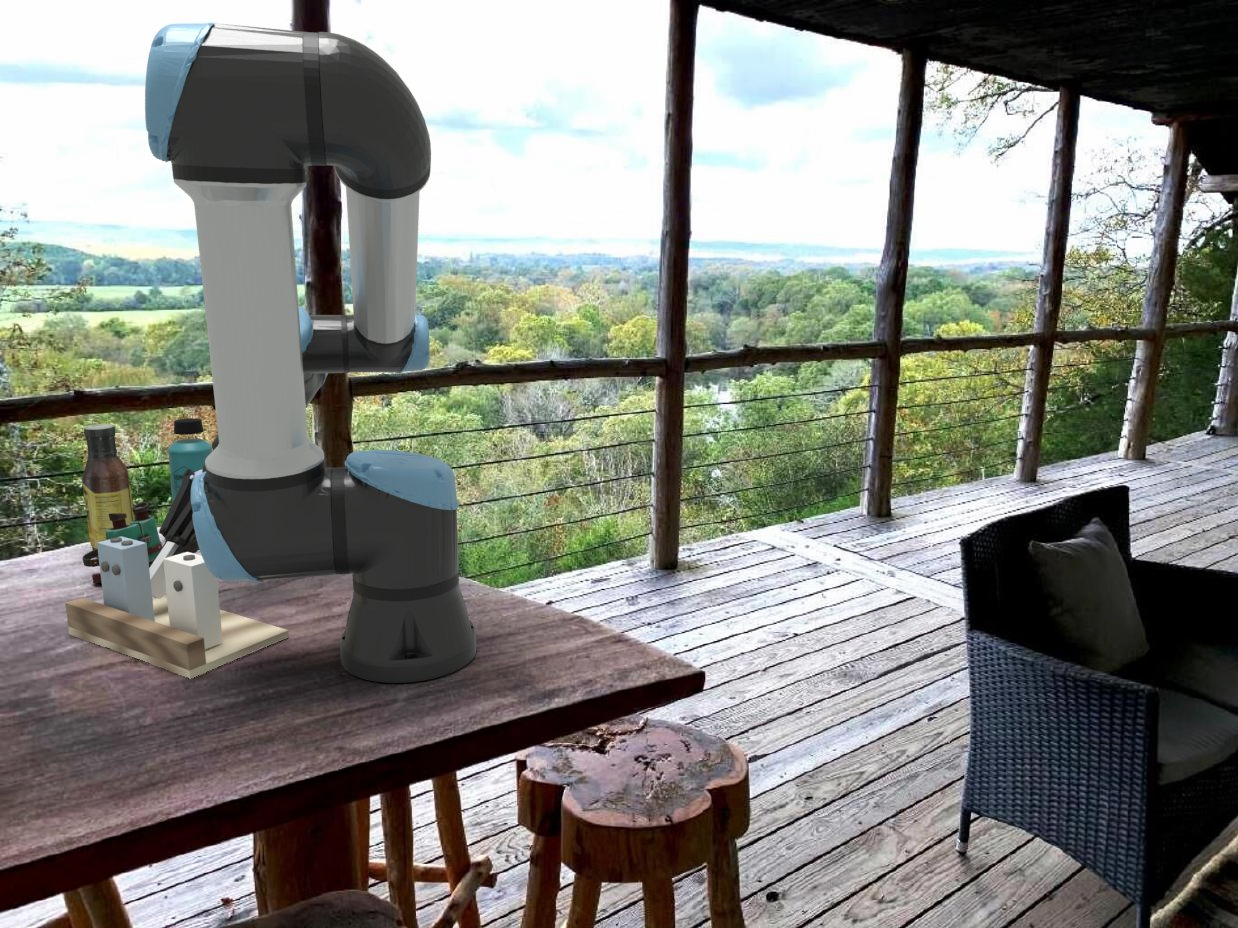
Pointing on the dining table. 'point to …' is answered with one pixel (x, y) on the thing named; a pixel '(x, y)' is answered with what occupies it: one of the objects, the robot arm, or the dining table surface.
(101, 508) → the sauce bottle
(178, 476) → the beverage bottle
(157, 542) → the binoculars
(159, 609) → the holder
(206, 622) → the tile one
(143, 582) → the tile two
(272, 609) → the dining table surface
